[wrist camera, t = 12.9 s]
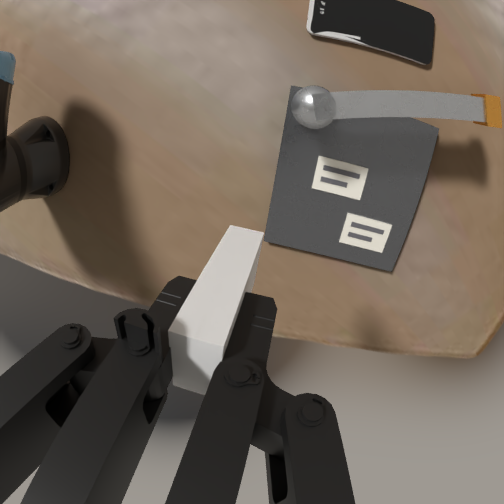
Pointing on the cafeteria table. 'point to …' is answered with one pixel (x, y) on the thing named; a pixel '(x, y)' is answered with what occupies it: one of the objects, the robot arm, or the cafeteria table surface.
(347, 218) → the label
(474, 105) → the swing arm
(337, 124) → the board
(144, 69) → the cafeteria table surface
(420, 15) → the smartphone
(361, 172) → the label
